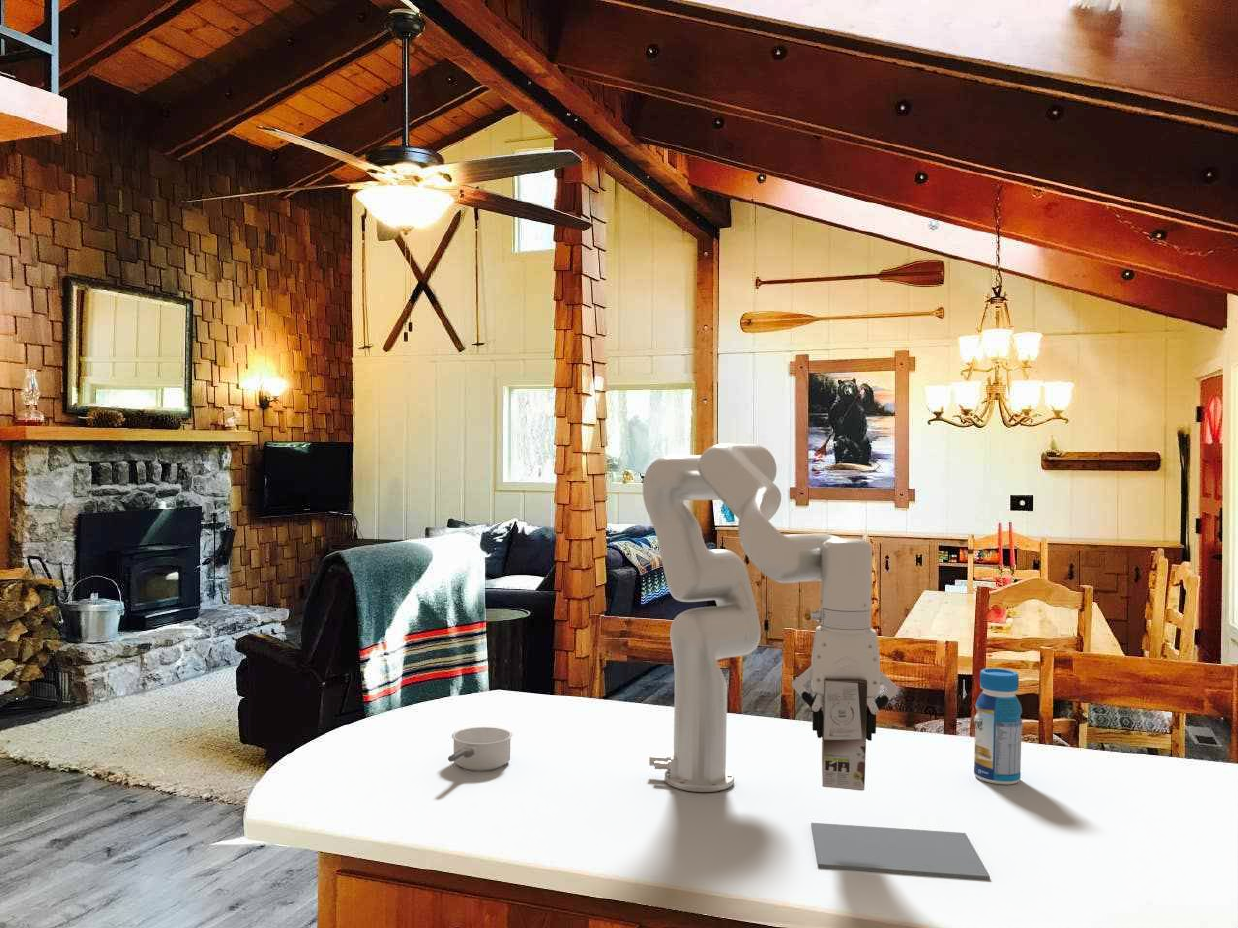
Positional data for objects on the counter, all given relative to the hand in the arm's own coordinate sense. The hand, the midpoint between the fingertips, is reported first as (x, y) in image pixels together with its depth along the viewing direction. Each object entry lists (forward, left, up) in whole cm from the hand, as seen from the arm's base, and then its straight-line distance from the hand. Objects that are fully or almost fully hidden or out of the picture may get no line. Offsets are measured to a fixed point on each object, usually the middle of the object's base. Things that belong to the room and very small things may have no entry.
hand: (843, 735), depth 149 cm
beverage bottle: (+32, +38, -17) cm, 53 cm away
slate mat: (+8, 0, -17) cm, 19 cm away
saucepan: (-65, +25, -17) cm, 72 cm away
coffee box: (0, 0, -7) cm, 7 cm away
